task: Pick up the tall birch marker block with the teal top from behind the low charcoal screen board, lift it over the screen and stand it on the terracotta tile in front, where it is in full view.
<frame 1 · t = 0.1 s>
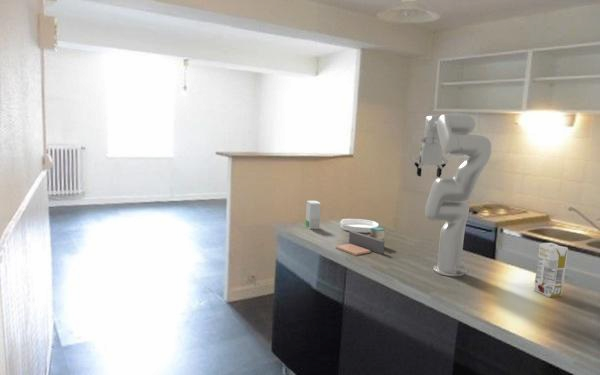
hand: (428, 176, 210), 37 cm above the counter, tool pointing down, fingers open, 9 cm apart
screen board: (365, 247, 214), on the counter
skincare box: (312, 227, 252), on the counter
marker block: (376, 245, 219), on the counter
terracotta tile: (352, 250, 209), on the counter
juice carton: (547, 293, 163), on the counter
pan: (359, 229, 255), on the counter
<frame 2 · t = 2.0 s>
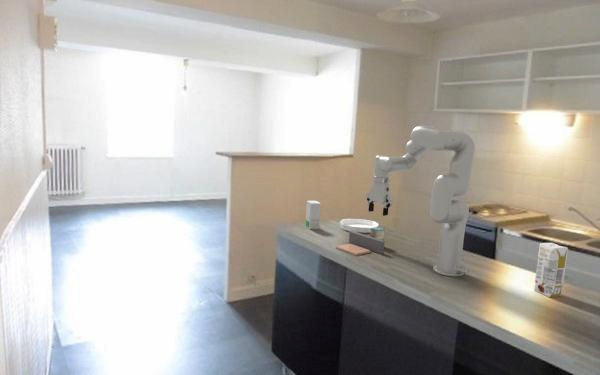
hand: (377, 213, 217), 17 cm above the counter, tool pointing down, fingers open, 9 cm apart
nothing on the counter moved.
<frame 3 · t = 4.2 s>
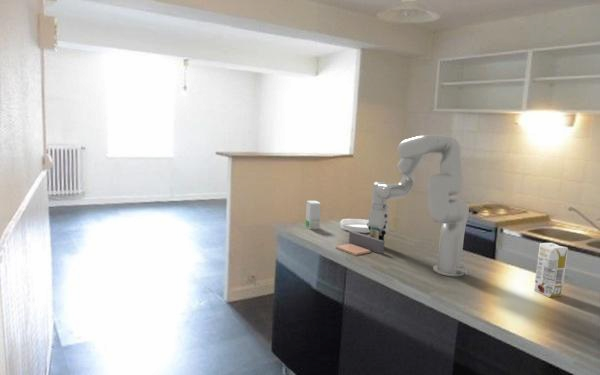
hand: (376, 240, 219), 2 cm above the counter, tool pointing down, fingers closed on marker block, 5 cm apart
marker block: (376, 245, 219), on the counter, touching gripper
everything else where it was.
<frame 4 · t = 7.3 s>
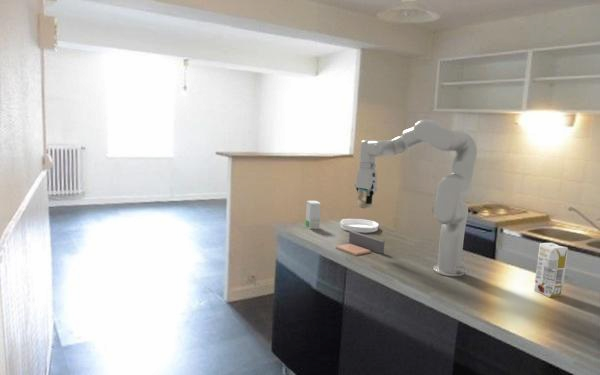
hand: (364, 202, 209), 23 cm above the counter, tool pointing down, fingers closed on marker block, 5 cm apart
marker block: (364, 207, 210), point 21 cm above the counter, touching gripper
everything else where it was.
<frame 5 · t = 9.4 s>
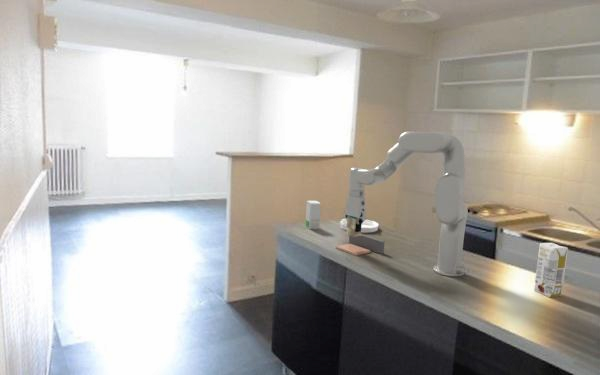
hand: (353, 230, 207), 10 cm above the counter, tool pointing down, fingers closed on marker block, 5 cm apart
marker block: (353, 234, 208), point 8 cm above the counter, touching gripper
everything else where it was.
when the fingers open (5 cm above the counter, at t = 10.8 s): marker block drops 1 cm, resting on terracotta tile.
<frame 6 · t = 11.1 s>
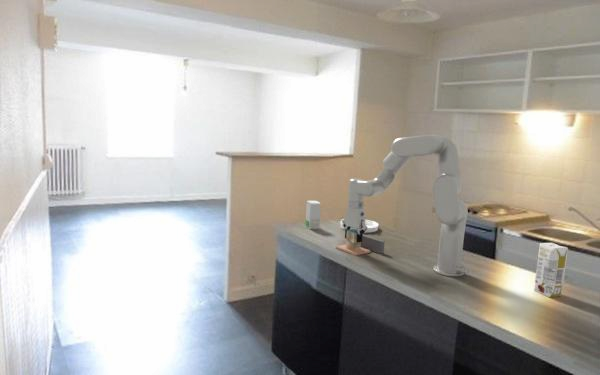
hand: (353, 239, 208), 5 cm above the counter, tool pointing down, fingers open, 7 cm apart
marker block: (353, 248, 209), point 1 cm above the counter, touching terracotta tile
everything else where it was.
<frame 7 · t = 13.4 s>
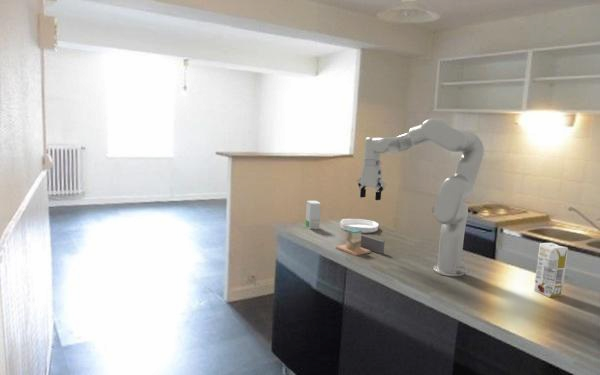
hand: (370, 198, 206), 26 cm above the counter, tool pointing down, fingers open, 9 cm apart
nothing on the counter moved.
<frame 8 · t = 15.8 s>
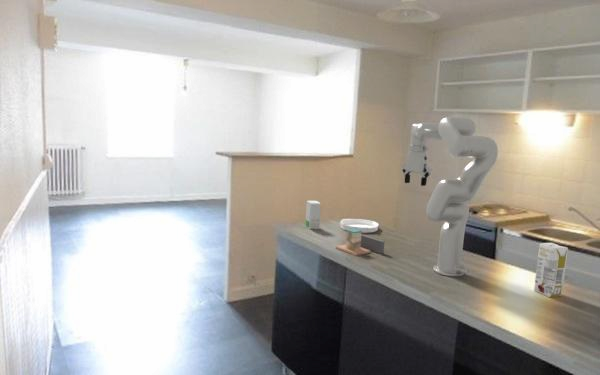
hand: (415, 184, 209), 33 cm above the counter, tool pointing down, fingers open, 9 cm apart
nothing on the counter moved.
at the end: marker block inside the target area on the terracotta tile (0.1 cm from its centre), point 1.0 cm above the terracotta tile's base; marker block tilted 0°; the gripper is holding nothing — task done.
